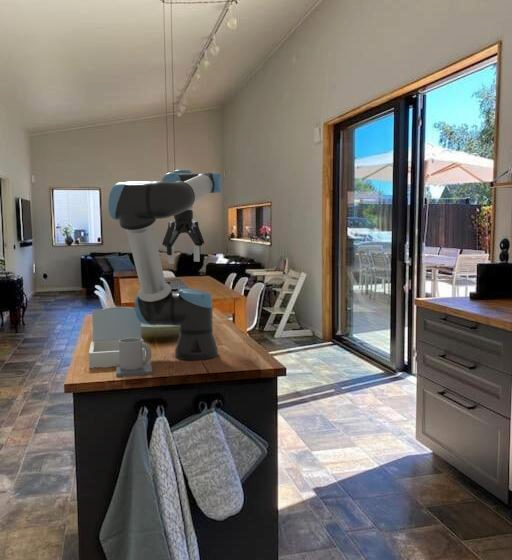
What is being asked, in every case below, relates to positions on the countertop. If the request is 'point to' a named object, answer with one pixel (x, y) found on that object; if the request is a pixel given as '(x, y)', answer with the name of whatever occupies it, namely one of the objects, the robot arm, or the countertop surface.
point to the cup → (133, 353)
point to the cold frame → (112, 335)
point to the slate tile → (144, 370)
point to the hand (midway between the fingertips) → (184, 262)
